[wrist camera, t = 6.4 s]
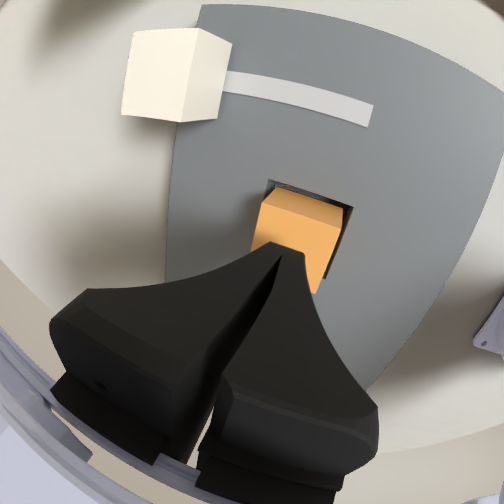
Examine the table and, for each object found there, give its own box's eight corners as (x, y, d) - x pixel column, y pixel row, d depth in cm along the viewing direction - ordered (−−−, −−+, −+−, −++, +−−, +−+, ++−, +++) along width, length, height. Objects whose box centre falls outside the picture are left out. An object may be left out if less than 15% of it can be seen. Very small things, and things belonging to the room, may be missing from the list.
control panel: (496, 101, 8) (525, 101, 6) (351, 388, 20) (347, 418, 17) (219, 15, 11) (191, -2, 8) (177, 323, 22) (158, 347, 20)
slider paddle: (232, 44, 10) (199, 28, 7) (217, 118, 12) (181, 122, 9) (175, 41, 10) (134, 32, 8) (162, 110, 12) (120, 114, 10)
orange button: (342, 208, 12) (341, 229, 10) (321, 265, 14) (315, 294, 12) (277, 186, 13) (261, 202, 11) (262, 244, 15) (246, 269, 13)
